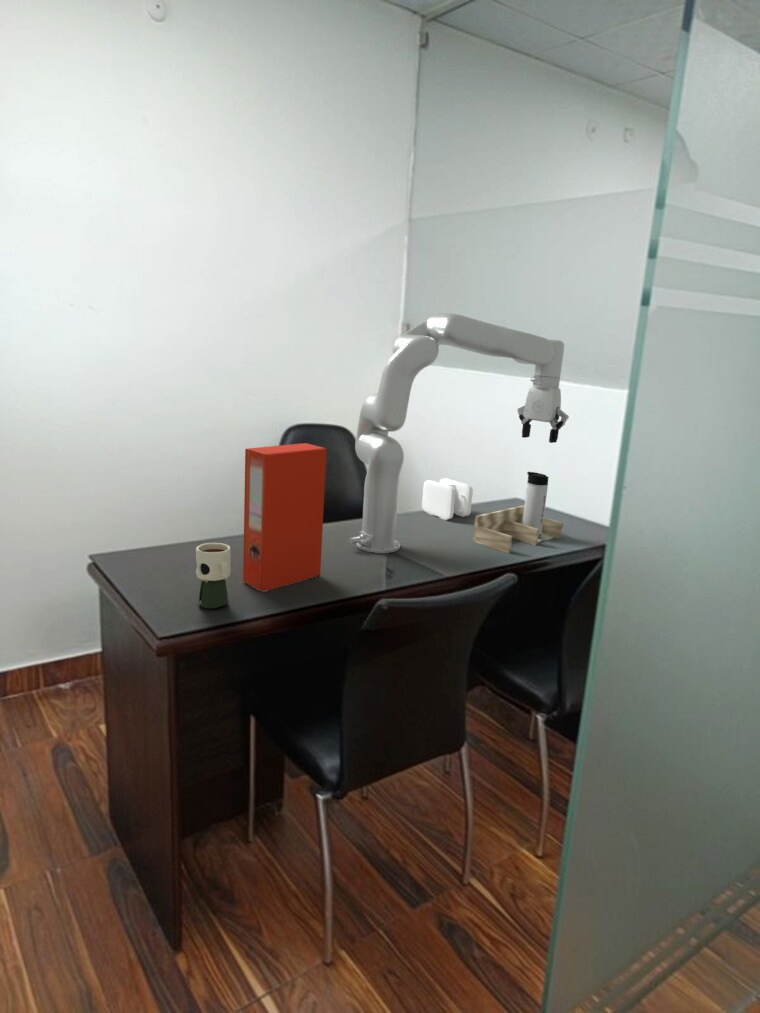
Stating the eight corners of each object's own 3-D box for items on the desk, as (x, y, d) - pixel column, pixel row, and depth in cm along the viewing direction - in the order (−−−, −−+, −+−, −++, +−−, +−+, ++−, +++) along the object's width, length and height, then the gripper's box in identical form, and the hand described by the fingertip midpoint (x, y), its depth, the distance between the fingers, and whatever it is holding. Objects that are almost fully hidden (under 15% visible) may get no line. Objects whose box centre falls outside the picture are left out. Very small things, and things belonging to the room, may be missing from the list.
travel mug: (517, 531, 212) (524, 470, 207) (537, 532, 213) (545, 470, 208) (523, 537, 206) (531, 474, 201) (544, 538, 207) (552, 475, 202)
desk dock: (508, 553, 191) (511, 526, 189) (472, 541, 200) (475, 515, 198) (561, 537, 210) (564, 513, 208) (526, 527, 219) (529, 503, 217)
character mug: (186, 600, 145) (185, 543, 142) (216, 593, 150) (216, 538, 147) (209, 617, 137) (209, 558, 134) (240, 610, 142) (241, 552, 139)
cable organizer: (419, 511, 231) (421, 478, 228) (441, 508, 237) (444, 476, 235) (449, 522, 220) (452, 488, 217) (471, 518, 226) (475, 485, 223)
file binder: (321, 576, 164) (326, 448, 156) (263, 593, 152) (266, 454, 144) (300, 567, 169) (304, 442, 161) (243, 582, 157) (244, 448, 149)
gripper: (514, 379, 202) (508, 436, 206) (564, 385, 189) (556, 445, 194) (529, 379, 207) (522, 434, 211) (578, 385, 195) (570, 443, 199)
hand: (538, 439), depth 202 cm, fingers open, 9 cm apart
